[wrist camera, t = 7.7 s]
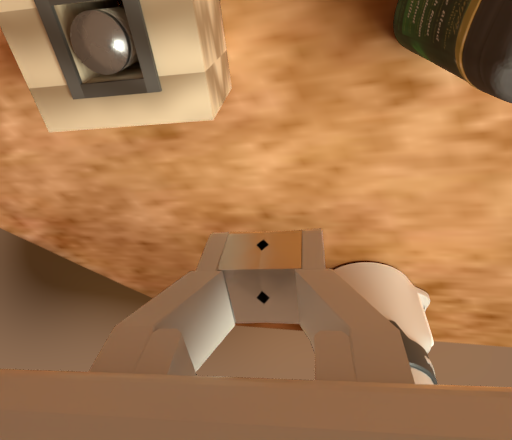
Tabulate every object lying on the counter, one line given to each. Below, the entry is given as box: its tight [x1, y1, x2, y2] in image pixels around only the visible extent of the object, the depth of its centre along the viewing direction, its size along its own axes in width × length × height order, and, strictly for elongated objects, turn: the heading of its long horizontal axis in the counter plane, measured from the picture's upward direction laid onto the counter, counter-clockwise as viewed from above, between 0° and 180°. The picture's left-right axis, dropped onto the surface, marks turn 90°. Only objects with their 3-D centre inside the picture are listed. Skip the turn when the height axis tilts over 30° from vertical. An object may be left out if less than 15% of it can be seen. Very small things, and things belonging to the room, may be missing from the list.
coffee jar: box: [393, 0, 512, 103], centre depth 21 cm, size 10×8×19 cm
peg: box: [70, 6, 139, 75], centre depth 27 cm, size 4×4×10 cm
